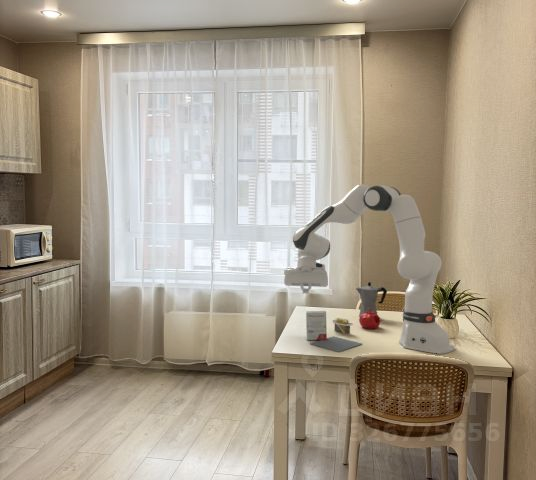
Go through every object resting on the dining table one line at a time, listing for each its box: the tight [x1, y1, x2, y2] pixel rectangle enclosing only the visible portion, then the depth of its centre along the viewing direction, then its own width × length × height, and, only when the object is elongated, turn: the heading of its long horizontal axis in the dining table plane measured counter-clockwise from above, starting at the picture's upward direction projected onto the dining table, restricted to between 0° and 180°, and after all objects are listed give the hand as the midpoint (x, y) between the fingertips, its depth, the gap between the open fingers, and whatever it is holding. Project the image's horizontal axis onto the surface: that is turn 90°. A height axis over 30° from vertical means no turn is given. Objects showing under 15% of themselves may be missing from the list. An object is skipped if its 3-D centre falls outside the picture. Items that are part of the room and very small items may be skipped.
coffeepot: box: [355, 281, 388, 318], centre depth 277 cm, size 15×9×18 cm, turn 87°
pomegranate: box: [358, 308, 382, 330], centre depth 258 cm, size 10×10×9 cm
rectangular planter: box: [332, 317, 354, 334], centre depth 248 cm, size 12×18×7 cm, turn 52°
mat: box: [309, 335, 363, 353], centre depth 229 cm, size 15×16×1 cm
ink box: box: [305, 310, 328, 341], centre depth 236 cm, size 9×5×12 cm, turn 84°
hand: (305, 292), depth 251 cm, fingers closed
